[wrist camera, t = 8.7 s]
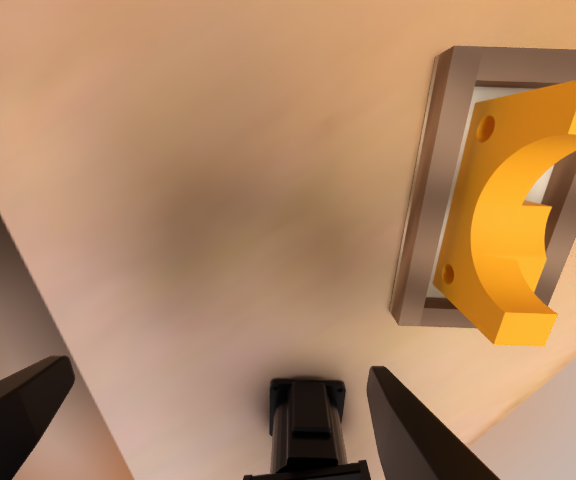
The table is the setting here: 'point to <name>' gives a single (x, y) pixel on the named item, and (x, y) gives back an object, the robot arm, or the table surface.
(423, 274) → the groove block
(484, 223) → the pipe clamp
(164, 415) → the table surface
